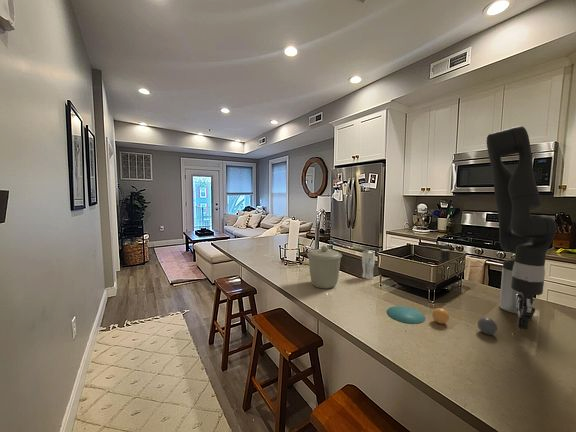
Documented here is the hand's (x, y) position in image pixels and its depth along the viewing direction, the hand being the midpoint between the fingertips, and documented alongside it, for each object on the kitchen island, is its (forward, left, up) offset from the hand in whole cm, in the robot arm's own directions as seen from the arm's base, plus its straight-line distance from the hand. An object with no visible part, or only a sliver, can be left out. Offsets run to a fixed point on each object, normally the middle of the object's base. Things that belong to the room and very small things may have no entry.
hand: (522, 328), depth 84 cm
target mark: (+35, 0, -5) cm, 35 cm away
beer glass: (+59, -36, -5) cm, 69 cm away
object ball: (+23, 0, -2) cm, 23 cm away
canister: (+76, -13, -5) cm, 77 cm away
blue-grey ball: (+9, 0, -2) cm, 9 cm away
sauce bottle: (+22, -40, -5) cm, 46 cm away
